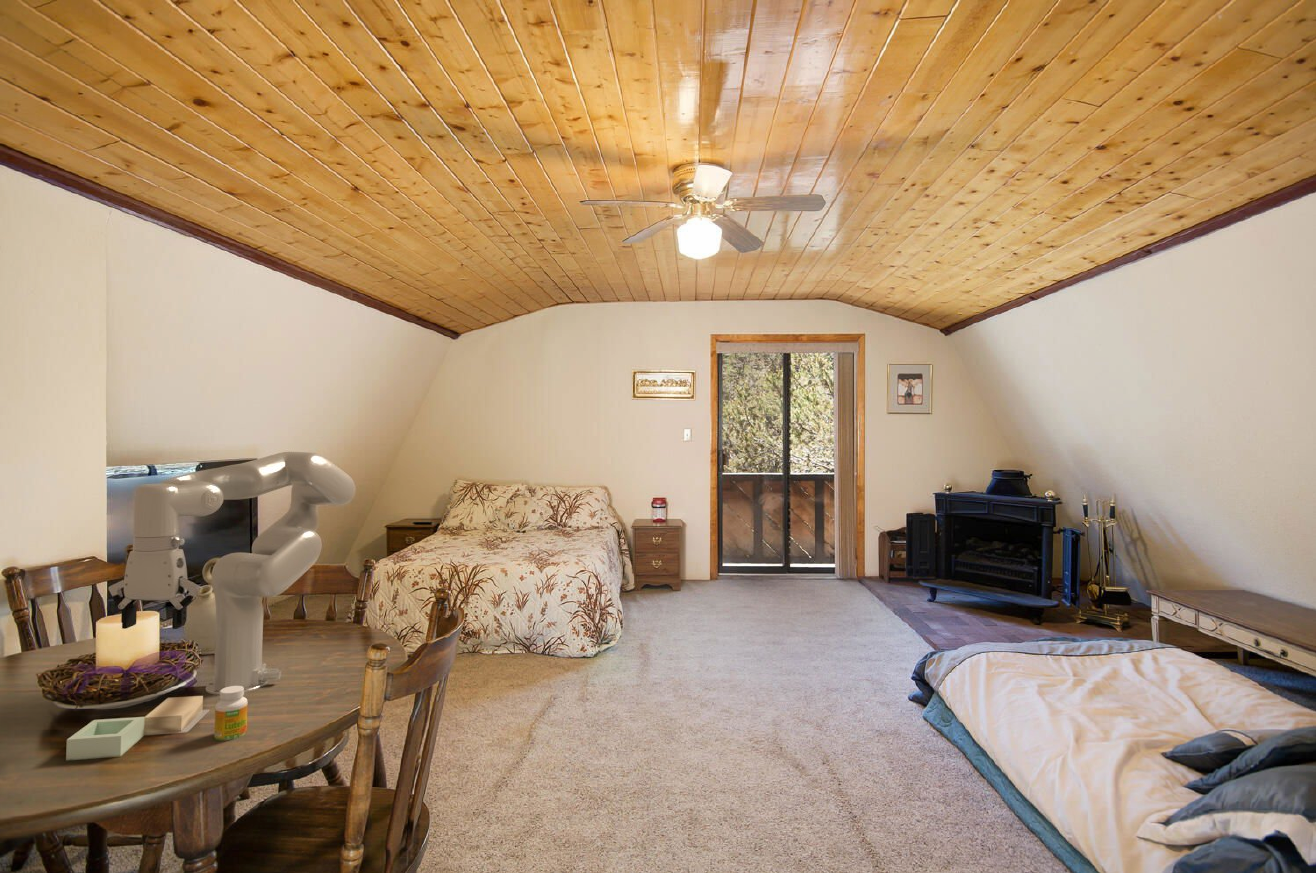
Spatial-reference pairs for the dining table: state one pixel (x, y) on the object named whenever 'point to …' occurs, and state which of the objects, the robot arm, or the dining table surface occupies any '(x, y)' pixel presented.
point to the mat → (187, 725)
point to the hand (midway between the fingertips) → (154, 626)
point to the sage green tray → (105, 738)
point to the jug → (203, 615)
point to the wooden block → (173, 714)
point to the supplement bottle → (231, 714)
